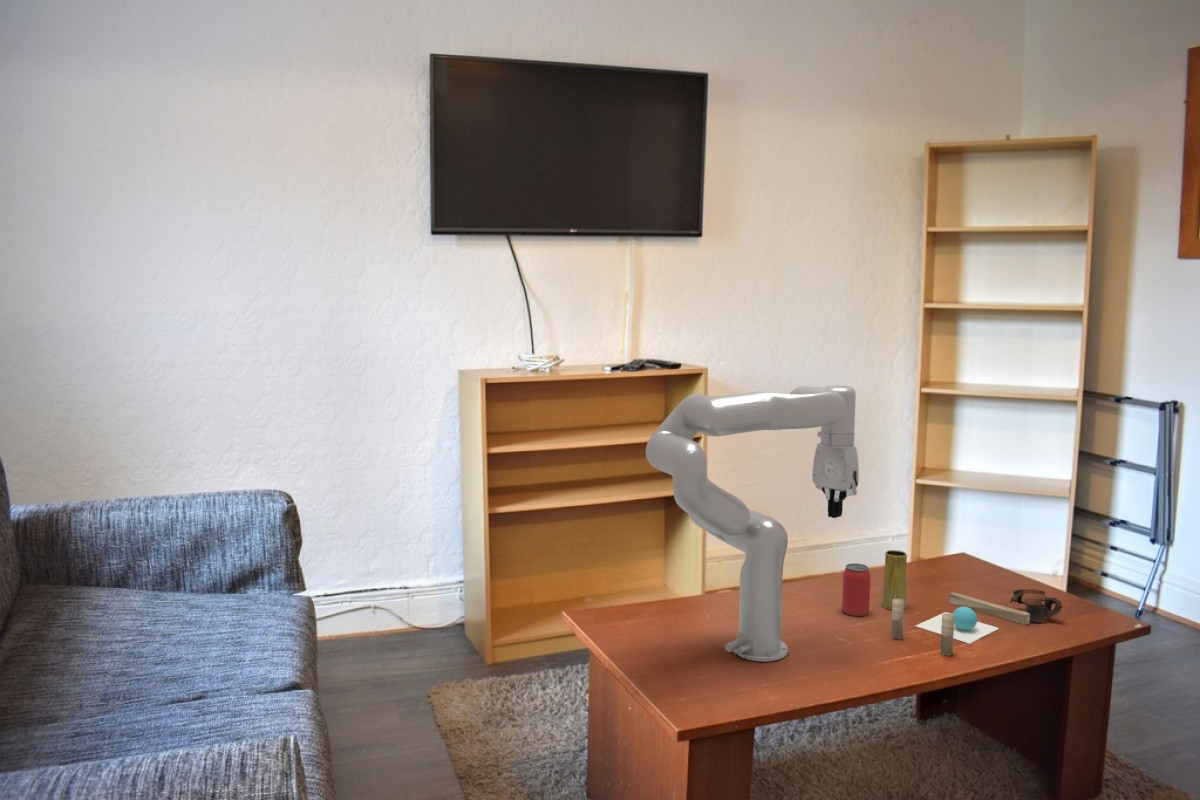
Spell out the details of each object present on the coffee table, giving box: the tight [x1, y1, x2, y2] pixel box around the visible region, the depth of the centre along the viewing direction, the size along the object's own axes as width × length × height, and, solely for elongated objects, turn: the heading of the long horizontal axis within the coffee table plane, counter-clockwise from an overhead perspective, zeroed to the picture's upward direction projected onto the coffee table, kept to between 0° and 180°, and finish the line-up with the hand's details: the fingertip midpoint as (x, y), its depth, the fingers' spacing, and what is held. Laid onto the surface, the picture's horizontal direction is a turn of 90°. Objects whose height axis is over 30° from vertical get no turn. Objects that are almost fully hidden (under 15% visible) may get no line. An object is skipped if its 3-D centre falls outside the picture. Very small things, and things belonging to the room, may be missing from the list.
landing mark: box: [914, 611, 1000, 645], centre depth 223 cm, size 14×14×1 cm
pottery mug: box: [1009, 588, 1063, 624], centre depth 229 cm, size 12×10×8 cm
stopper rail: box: [948, 591, 1030, 626], centre depth 232 cm, size 2×20×2 cm, turn 40°
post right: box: [939, 612, 955, 657], centre depth 207 cm, size 3×3×9 cm
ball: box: [952, 606, 978, 631], centre depth 221 cm, size 6×6×6 cm
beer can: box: [841, 562, 871, 617], centre depth 233 cm, size 7×7×12 cm
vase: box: [881, 549, 908, 610], centre depth 236 cm, size 6×6×14 cm
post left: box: [890, 598, 905, 640], centre depth 217 cm, size 3×3×9 cm
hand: (834, 516), depth 215 cm, fingers closed
